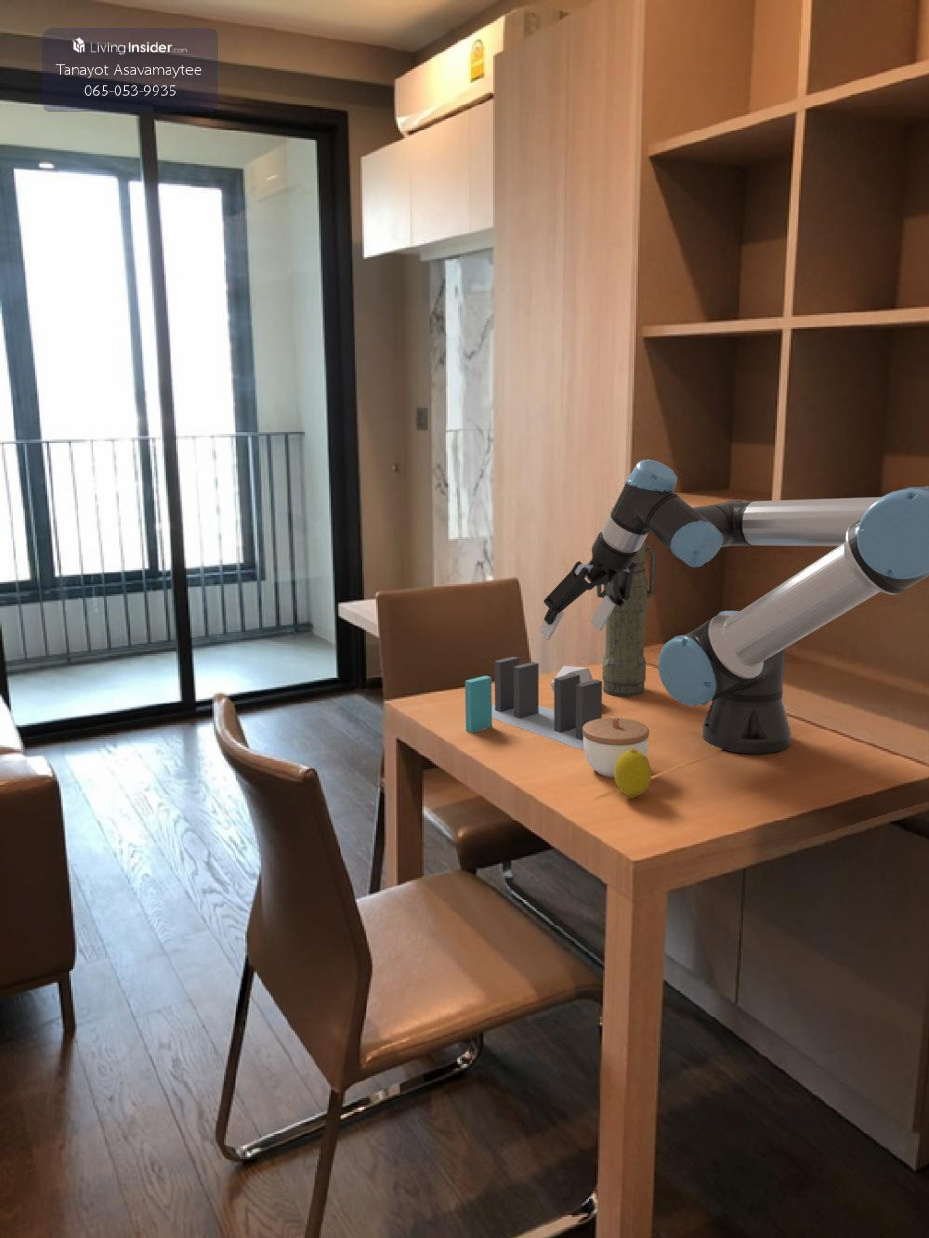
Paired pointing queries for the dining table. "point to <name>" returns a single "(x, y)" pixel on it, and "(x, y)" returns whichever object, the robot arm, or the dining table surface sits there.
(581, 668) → the die
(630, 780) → the lemon
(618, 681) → the thermos
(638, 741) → the lidded jar
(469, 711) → the teal domino
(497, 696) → the domino
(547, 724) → the mat
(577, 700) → the domino
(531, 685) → the domino
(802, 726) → the dining table surface
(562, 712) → the domino
